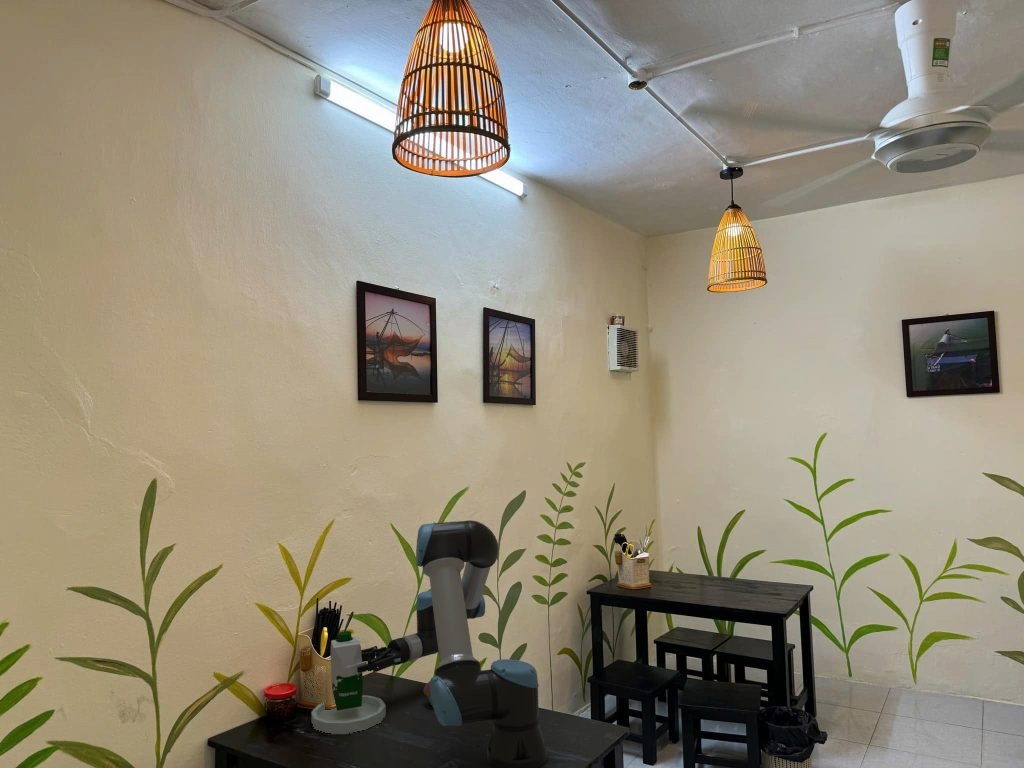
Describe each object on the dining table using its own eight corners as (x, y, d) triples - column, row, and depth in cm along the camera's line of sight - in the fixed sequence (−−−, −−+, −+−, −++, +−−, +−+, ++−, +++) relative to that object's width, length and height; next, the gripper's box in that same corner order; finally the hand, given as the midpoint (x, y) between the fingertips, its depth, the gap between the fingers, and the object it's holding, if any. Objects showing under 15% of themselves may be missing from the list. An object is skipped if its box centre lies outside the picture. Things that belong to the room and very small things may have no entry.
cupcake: (457, 701, 217) (456, 661, 218) (440, 711, 210) (439, 670, 210) (435, 697, 221) (434, 657, 222) (418, 706, 214) (417, 665, 215)
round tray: (399, 714, 209) (398, 703, 209) (345, 740, 192) (345, 728, 192) (352, 700, 221) (351, 690, 221) (297, 724, 204) (297, 713, 204)
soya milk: (361, 696, 213) (358, 628, 214) (365, 707, 204) (362, 636, 205) (331, 701, 210) (328, 633, 211) (334, 712, 201) (330, 641, 203)
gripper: (424, 669, 214) (358, 690, 198) (386, 655, 228) (321, 674, 213) (423, 643, 214) (357, 663, 198) (385, 631, 229) (321, 648, 213)
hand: (339, 668), depth 205 cm, fingers closed on soya milk, 7 cm apart
